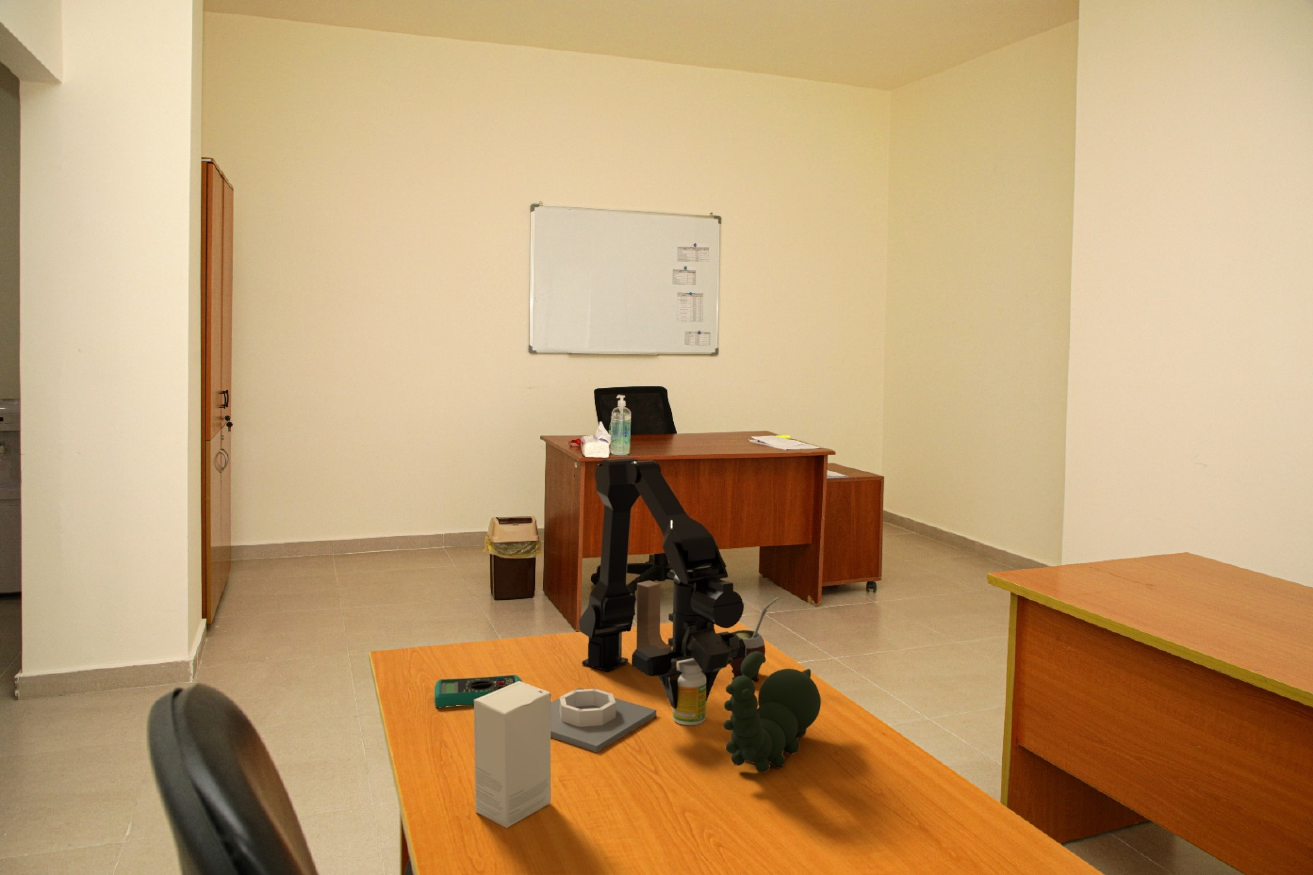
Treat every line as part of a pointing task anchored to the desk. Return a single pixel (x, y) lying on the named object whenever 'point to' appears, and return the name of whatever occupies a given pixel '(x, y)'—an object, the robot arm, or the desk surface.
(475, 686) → the digital multimeter
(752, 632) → the mate gourd
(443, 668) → the desk surface
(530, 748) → the skincare box
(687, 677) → the supplement bottle
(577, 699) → the ring holder
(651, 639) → the wooden block
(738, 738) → the toy figurine
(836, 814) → the desk surface
